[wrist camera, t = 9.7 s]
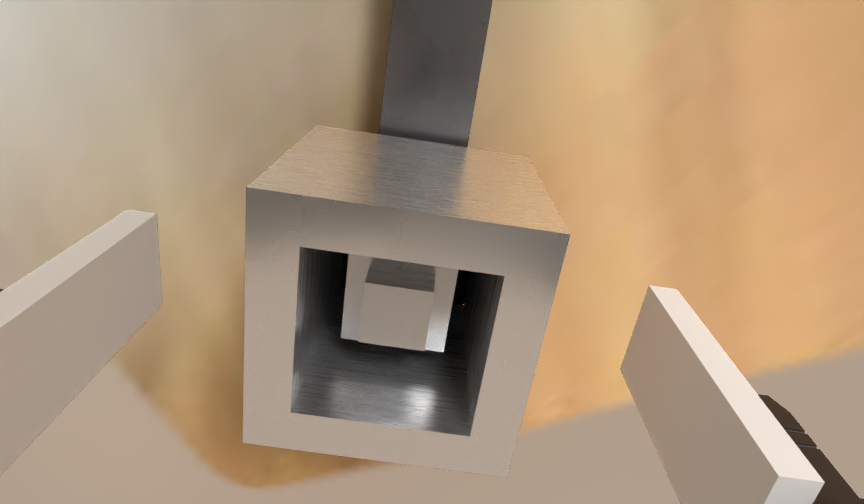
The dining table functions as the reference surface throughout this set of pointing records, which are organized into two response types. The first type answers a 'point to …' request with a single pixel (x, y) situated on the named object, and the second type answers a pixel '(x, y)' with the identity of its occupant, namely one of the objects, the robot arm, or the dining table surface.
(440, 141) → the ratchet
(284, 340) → the socket
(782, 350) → the dining table surface
